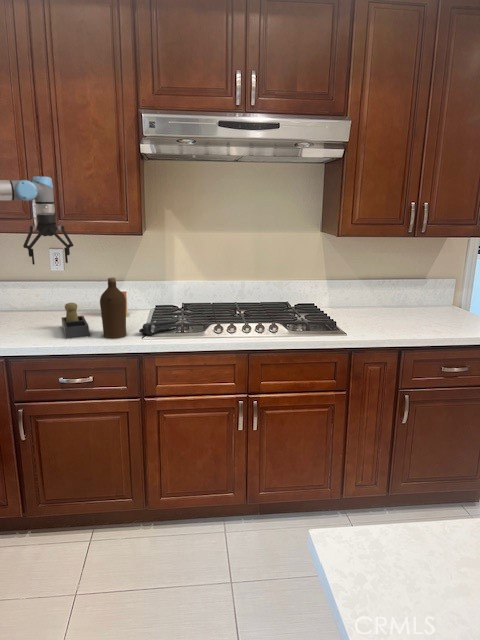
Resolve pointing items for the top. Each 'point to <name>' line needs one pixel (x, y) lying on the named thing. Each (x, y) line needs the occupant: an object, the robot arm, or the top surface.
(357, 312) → the top surface
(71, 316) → the cork
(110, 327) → the olive oil
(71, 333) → the dark grey hollow block
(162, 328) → the can opener
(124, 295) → the small box
